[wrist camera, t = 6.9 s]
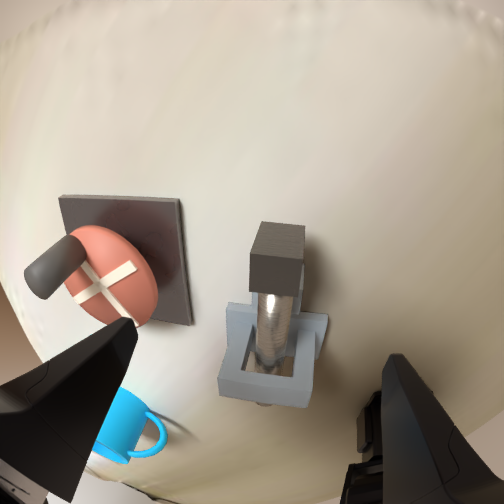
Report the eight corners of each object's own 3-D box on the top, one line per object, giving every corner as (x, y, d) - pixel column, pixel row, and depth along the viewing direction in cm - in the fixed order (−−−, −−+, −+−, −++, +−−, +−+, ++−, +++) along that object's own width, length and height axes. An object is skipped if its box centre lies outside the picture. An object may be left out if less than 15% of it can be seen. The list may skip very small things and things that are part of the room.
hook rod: (305, 225, 15) (303, 259, 12) (282, 381, 22) (277, 416, 19) (261, 221, 15) (250, 253, 13) (254, 377, 22) (246, 411, 19)
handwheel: (186, 295, 20) (151, 359, 15) (119, 323, 23) (84, 374, 18) (111, 195, 17) (49, 240, 12) (57, 247, 20) (9, 289, 15)
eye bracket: (337, 267, 18) (343, 335, 13) (318, 351, 22) (314, 416, 17) (227, 254, 19) (197, 316, 14) (229, 340, 23) (210, 401, 18)
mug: (108, 406, 37) (86, 448, 30) (88, 374, 33) (60, 421, 26) (181, 430, 35) (163, 479, 28) (170, 401, 31) (146, 459, 24)
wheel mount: (178, 198, 18) (170, 206, 17) (192, 320, 23) (187, 331, 22) (63, 194, 19) (53, 200, 18) (91, 299, 24) (84, 307, 23)
